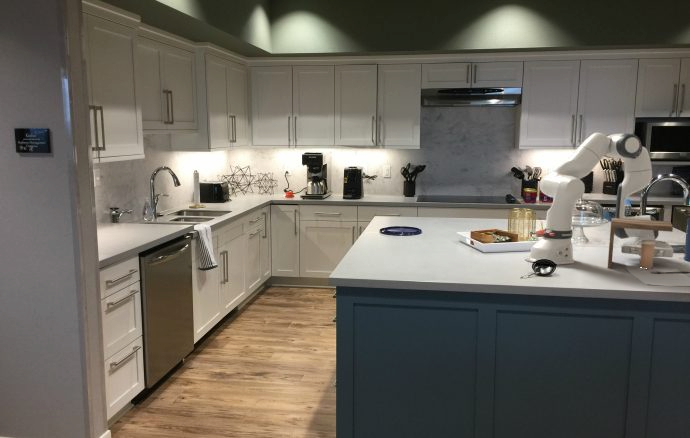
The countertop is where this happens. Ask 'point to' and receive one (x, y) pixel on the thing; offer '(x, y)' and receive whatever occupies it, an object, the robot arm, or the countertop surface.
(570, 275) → the countertop surface
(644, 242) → the jar
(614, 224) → the shelf
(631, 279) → the countertop surface
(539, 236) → the cupcake
